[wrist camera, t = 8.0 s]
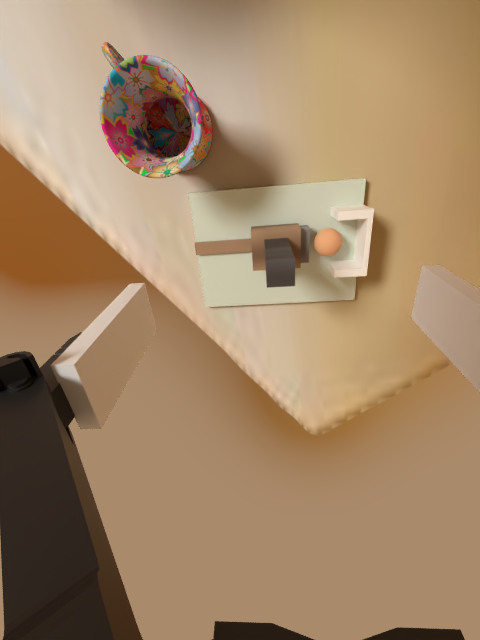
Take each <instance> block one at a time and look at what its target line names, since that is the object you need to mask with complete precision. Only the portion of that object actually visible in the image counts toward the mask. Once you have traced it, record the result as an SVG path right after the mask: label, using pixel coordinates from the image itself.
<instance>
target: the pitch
mask: <svg viewBox="0 0 480 640" xmlns="http://www.w3.org/2000/svg"><path fill="white" fill-rule="evenodd" d="M365 184H366V179H365V178H360V179H348V180H336V181H325V182H313V183H301V184H289V185H277V186H265V187H253V188H241V189H229V190H217V191H205V192H193V193H188V195H189V202H190V209H191V215H192V222H193V229H194V236H195V249H196V255H197V256H198V263H199V270H200V277H201V284H202V291H203V297H204V304H205V307H219V306H239V305H259V304H279V303H299V302H319V301H339V300H354V298H355V287H356V277H357V276H356V277H338V278H334V277H333V275H332V274H331V272H330V271H329V269H328V261H338V260H354V251H355V240H356V228H357V219H354V220H340V221H337V220H336V219H335V218H333V217H332V216H331V207H341V206H354V205H364V195H365ZM293 223H298V224H299V225H300V226H301V225H308V226H309V227H310V239H309V263H301V268H295V286H288V287H269V288H267V283H266V270H260V271H253V261H252V245H251V227H252V226H266V225H279V224H293ZM326 228H332V229H335V230H337V231H338V232H339V233H340V235H341V237H342V246H341V248H340V250H339V251H338V252H337V253H336V254H334V255H332V256H322V255H320V254H319V253H318V252H317V251H316V250H315V248H314V239H315V236H316V235H317V233H318V232H319V231H321V230H323V229H326Z"/></svg>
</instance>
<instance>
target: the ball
mask: <svg viewBox="0 0 480 640" xmlns="http://www.w3.org/2000/svg"><path fill="white" fill-rule="evenodd" d="M341 246H342V237H341V235H340V233H339V232H338V231H337V230H335V229H332V228H326V229H323V230H321V231H319V232H318V233H317V235H316V236H315V239H314V248H315V250H316V251H317V252H318V253H319V254H320V255H322V256H332V255H334V254H336V253H337V252H338V251H339V250H340V248H341Z"/></svg>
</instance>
